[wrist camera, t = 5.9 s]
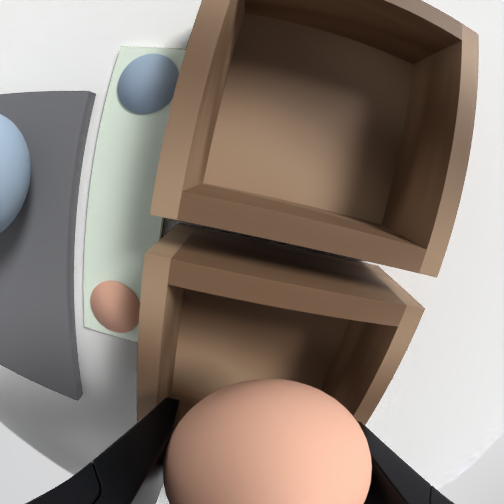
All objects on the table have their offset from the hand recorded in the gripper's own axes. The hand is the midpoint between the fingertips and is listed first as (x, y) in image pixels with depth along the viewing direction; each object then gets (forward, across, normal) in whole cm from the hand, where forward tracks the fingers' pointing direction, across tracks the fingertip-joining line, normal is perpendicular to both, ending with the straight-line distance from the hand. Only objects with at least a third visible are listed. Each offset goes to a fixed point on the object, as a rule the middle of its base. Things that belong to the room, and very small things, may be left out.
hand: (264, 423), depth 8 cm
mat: (+5, +12, -1) cm, 13 cm away
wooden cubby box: (+5, 0, 0) cm, 5 cm away
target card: (+5, +6, -4) cm, 9 cm away
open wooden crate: (+5, 0, -9) cm, 10 cm away
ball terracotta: (+1, 0, 0) cm, 1 cm away
